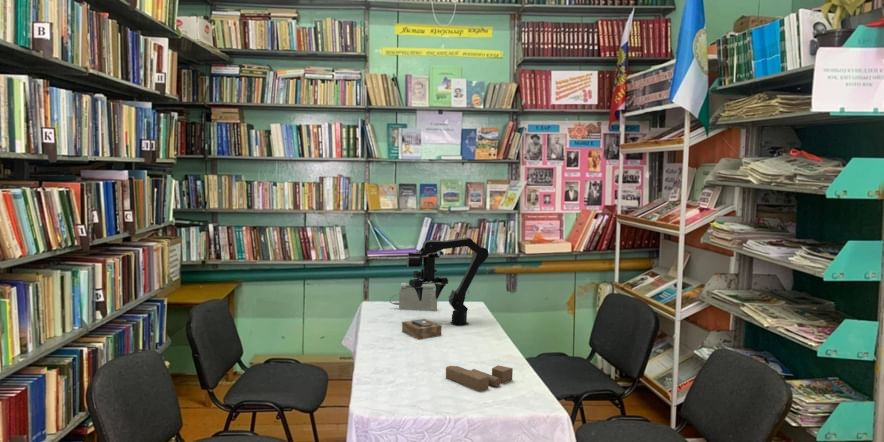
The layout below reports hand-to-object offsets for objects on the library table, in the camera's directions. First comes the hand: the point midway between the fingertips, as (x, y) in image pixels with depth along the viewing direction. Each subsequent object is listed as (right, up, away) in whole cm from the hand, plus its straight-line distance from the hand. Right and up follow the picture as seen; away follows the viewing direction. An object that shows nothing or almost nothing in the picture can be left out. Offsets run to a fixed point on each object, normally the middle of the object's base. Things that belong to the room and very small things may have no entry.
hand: (428, 299), depth 286 cm
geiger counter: (-9, -9, +30) cm, 33 cm away
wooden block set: (+20, -19, -72) cm, 77 cm away
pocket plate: (-3, -13, -15) cm, 20 cm away
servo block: (-3, -13, -15) cm, 20 cm away
